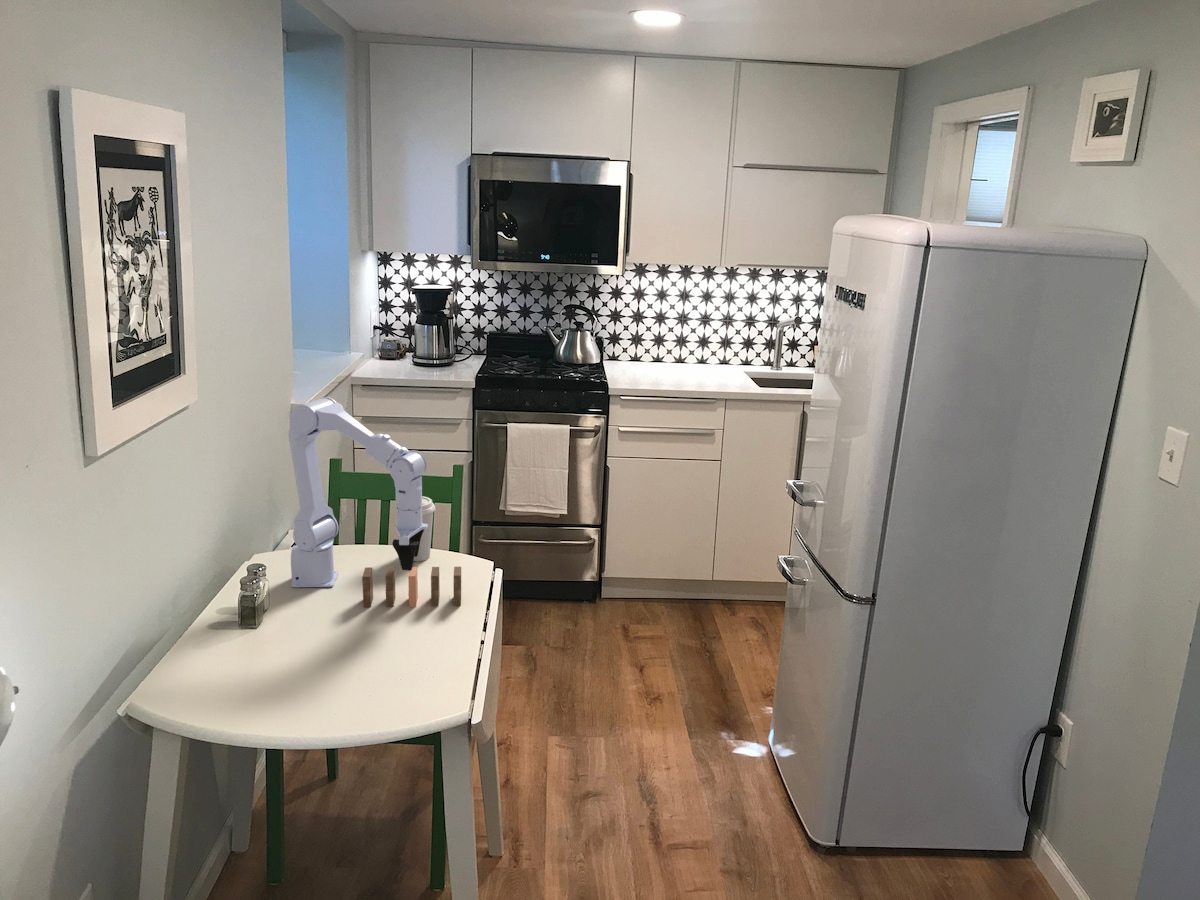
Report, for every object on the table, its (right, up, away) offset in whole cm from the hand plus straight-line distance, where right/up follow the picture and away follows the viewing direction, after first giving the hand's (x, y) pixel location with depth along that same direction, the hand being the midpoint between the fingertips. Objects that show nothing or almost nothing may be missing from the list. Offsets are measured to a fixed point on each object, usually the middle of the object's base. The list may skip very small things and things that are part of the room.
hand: (409, 562), depth 211 cm
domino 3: (0, -9, +2) cm, 9 cm away
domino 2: (-5, -9, +2) cm, 10 cm away
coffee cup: (-4, -2, +27) cm, 27 cm away
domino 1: (-10, -9, +1) cm, 13 cm away
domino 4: (+5, -9, +3) cm, 11 cm away
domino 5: (+10, -9, +3) cm, 14 cm away
